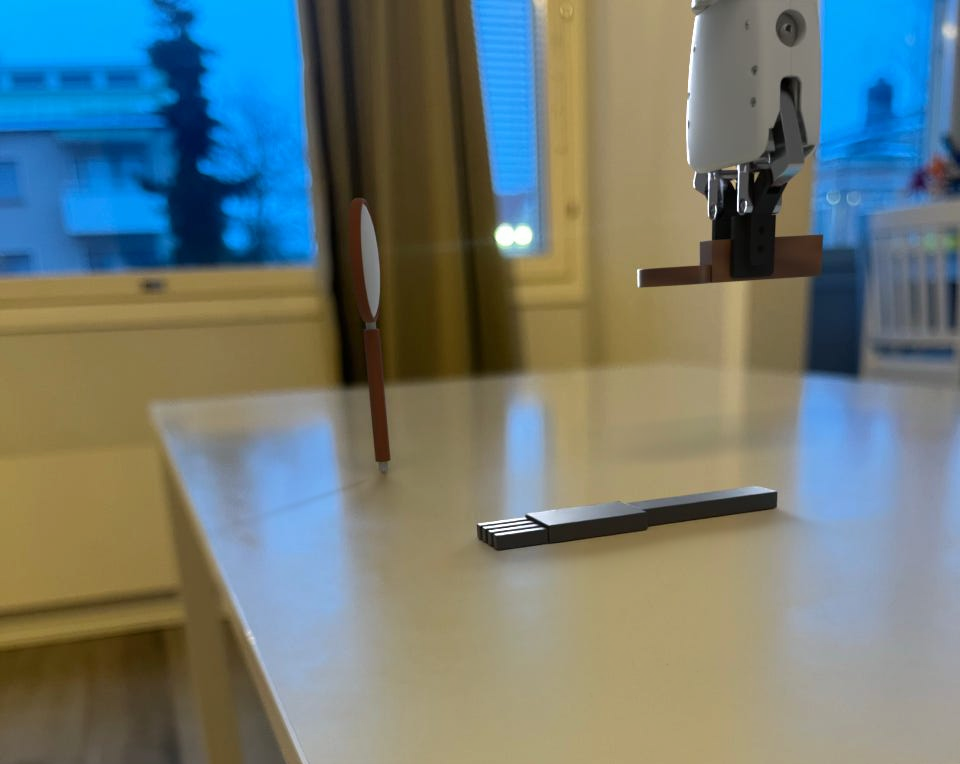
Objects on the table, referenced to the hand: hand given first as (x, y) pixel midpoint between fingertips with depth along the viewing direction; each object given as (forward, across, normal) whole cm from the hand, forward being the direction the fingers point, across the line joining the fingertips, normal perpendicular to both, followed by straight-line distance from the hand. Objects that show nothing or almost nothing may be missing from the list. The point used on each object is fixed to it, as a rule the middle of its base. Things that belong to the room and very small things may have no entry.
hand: (741, 275), depth 71 cm
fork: (+13, -15, +16) cm, 26 cm away
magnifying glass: (+13, +11, +25) cm, 30 cm away
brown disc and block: (0, 0, +1) cm, 1 cm away
